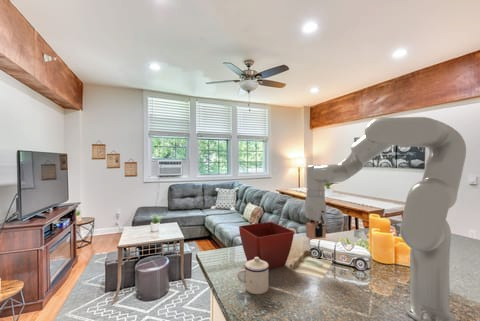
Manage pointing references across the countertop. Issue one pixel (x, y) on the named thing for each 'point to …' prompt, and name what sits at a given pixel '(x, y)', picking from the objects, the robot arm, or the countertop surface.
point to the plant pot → (267, 243)
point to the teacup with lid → (256, 276)
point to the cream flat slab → (310, 265)
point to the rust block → (311, 230)
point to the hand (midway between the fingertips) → (315, 234)
